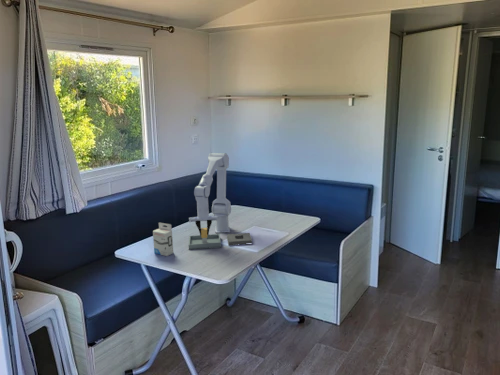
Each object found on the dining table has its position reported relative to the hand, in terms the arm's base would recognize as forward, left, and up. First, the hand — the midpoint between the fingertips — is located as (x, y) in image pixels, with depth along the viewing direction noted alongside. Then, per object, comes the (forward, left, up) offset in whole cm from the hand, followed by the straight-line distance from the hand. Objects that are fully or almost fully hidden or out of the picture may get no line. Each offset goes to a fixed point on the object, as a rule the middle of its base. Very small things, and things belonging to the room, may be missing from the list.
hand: (204, 234), depth 226 cm
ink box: (+10, -20, -5) cm, 23 cm away
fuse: (+1, 0, -4) cm, 4 cm away
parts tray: (0, 0, -5) cm, 5 cm away
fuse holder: (-1, +18, -5) cm, 19 cm away
